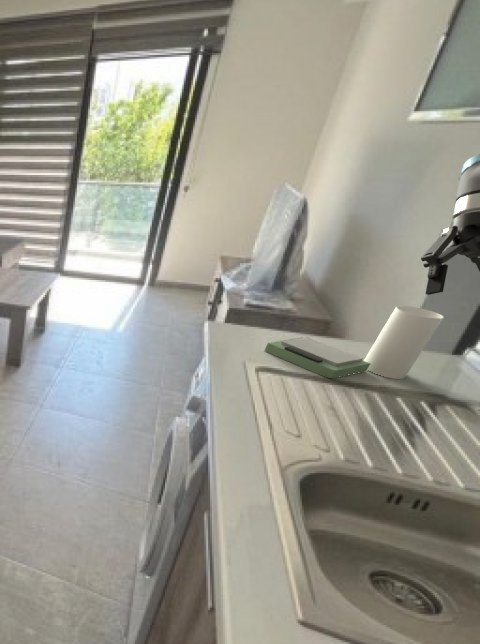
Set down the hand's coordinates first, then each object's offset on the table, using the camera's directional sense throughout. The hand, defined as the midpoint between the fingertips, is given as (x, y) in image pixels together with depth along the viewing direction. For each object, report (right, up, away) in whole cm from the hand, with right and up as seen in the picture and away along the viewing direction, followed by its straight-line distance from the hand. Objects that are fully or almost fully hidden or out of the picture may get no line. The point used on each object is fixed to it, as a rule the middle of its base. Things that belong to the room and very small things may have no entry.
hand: (460, 303), depth 108 cm
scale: (-19, -13, +16) cm, 28 cm away
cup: (-4, -16, +13) cm, 21 cm away
